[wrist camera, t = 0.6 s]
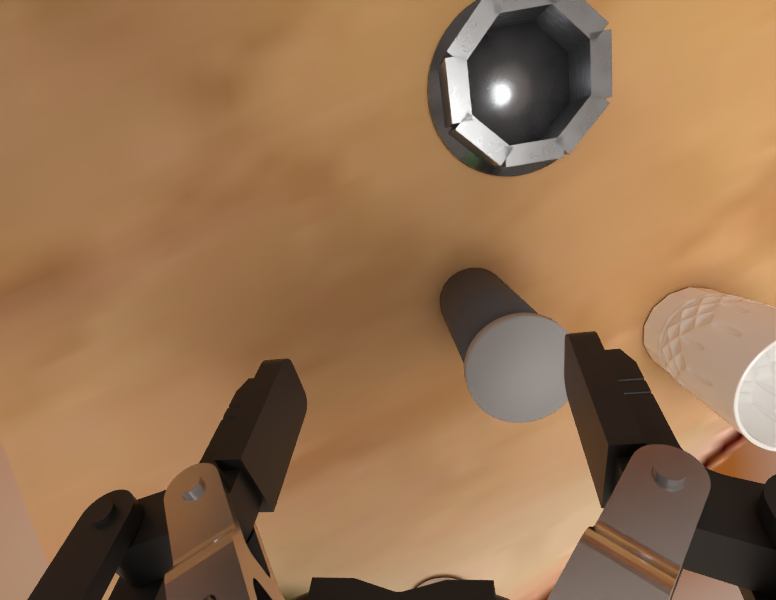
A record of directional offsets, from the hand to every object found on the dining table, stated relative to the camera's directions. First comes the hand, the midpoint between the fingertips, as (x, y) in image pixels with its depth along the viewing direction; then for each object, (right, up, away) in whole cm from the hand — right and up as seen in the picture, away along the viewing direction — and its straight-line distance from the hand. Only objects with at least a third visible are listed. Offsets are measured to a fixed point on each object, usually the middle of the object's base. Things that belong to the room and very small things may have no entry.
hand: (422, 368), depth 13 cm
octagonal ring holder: (+7, +16, +16) cm, 23 cm away
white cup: (+22, 0, +21) cm, 30 cm away
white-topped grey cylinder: (+5, +2, +20) cm, 21 cm away
